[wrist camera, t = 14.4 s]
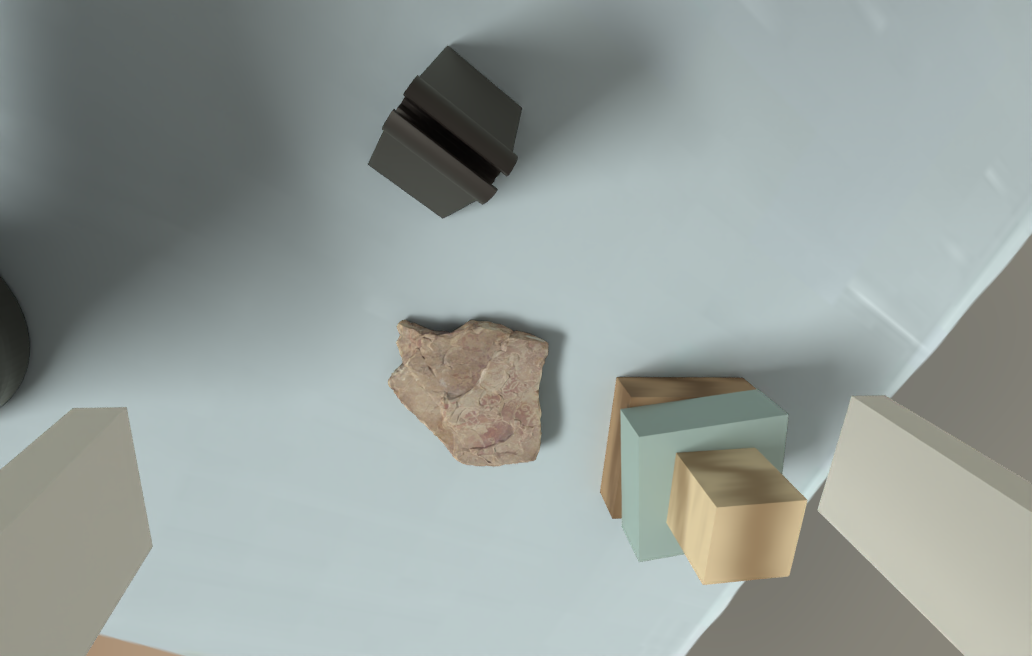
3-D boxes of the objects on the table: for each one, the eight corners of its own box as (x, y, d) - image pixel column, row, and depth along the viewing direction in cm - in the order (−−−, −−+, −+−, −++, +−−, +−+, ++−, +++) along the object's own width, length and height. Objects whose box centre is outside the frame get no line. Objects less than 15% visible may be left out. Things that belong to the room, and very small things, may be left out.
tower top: (621, 526, 47) (638, 562, 43) (620, 409, 43) (639, 437, 39) (748, 505, 48) (775, 538, 44) (758, 389, 44) (788, 414, 40)
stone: (391, 453, 46) (388, 473, 43) (390, 314, 42) (387, 326, 39) (534, 451, 47) (540, 470, 45) (546, 317, 43) (553, 329, 41)
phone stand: (442, 218, 39) (448, 257, 28) (367, 163, 37) (342, 182, 26) (521, 108, 38) (561, 105, 27) (447, 45, 36) (457, 13, 25)
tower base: (598, 488, 50) (612, 518, 46) (614, 374, 46) (631, 397, 42) (715, 485, 52) (737, 513, 48) (739, 375, 48) (766, 397, 44)
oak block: (666, 522, 42) (702, 585, 36) (676, 452, 40) (716, 507, 34) (741, 516, 43) (789, 576, 37) (755, 447, 41) (807, 500, 35)
